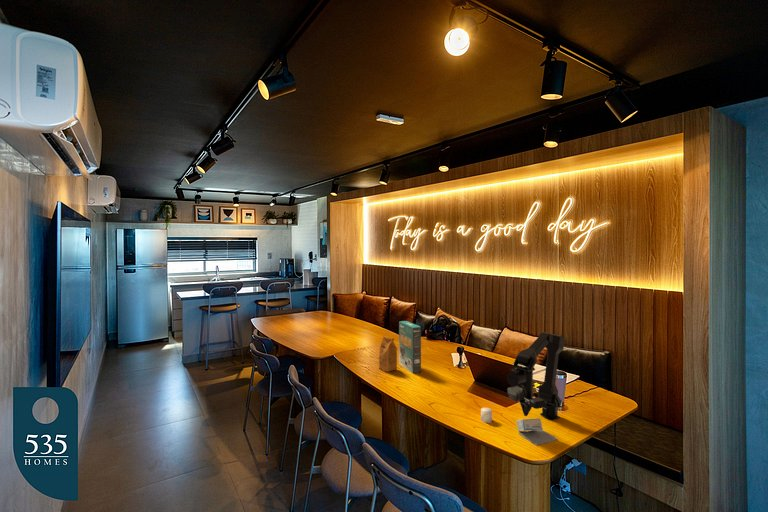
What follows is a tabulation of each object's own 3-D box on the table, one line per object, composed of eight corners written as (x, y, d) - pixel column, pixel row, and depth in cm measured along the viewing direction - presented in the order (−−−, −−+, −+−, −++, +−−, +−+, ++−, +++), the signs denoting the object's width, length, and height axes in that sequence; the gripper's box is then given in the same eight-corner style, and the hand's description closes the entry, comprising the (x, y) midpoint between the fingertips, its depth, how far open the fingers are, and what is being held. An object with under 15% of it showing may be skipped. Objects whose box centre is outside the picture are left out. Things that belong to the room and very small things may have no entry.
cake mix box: (420, 372, 241) (420, 326, 240) (412, 373, 239) (412, 327, 238) (406, 362, 261) (406, 320, 261) (399, 363, 259) (399, 321, 259)
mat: (540, 429, 164) (540, 428, 164) (558, 440, 155) (558, 439, 155) (518, 434, 160) (518, 433, 160) (535, 445, 151) (535, 444, 151)
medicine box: (533, 419, 165) (540, 418, 157) (535, 430, 163) (543, 429, 155) (515, 420, 165) (522, 419, 157) (518, 431, 163) (524, 430, 155)
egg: (487, 417, 176) (487, 406, 176) (494, 421, 172) (494, 411, 172) (478, 418, 174) (478, 408, 174) (485, 423, 170) (485, 412, 170)
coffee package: (388, 365, 255) (388, 334, 255) (398, 370, 245) (398, 337, 244) (376, 367, 250) (376, 335, 250) (386, 373, 239) (386, 339, 239)
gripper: (497, 376, 170) (497, 410, 170) (526, 391, 152) (526, 428, 153) (516, 373, 174) (516, 406, 174) (547, 387, 156) (547, 423, 157)
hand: (525, 415), depth 164 cm, fingers closed
